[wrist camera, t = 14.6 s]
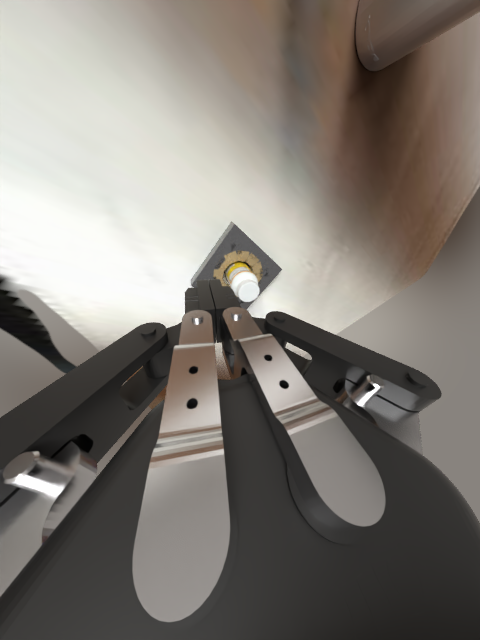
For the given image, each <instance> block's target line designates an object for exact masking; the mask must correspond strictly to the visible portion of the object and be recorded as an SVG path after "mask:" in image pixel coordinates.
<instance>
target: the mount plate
mask: <svg viewBox="0 0 480 640" xmlns="http://www.w3.org/2000/svg"><path fill="white" fill-rule="evenodd" d="M236 261H242V262H247V263H248V264H249V266H250V270H251V271H252V272H253V273H254V275H255V276H256V278H257V280H258V286H259V290H260V291H259V295H260V293H261V292H262V291H263V290H264V289H265V288H266V287H267V286H268V285H269V284H270V282H271V281H272V280H273V279H274V278H275V277H276V276H277V275H278V274H279V272H280V271H281V270H282V269H281V268H280V267H279V266H278V265H277V264H276V263H275V262H274V261H273V260H272V259H271V258H270V257H269V256H268V255H267V254H266V253H264V252H263V251H262V250H261V249H260V248H259V247H258V246H257V245H256V244H255V243H254V242H253V241H252V240H251V239H250V238H249V237H248V236H247V235H246V234H245V233H244V232H242V231H241V230H240V229H239V228H238V227H237V226H236V225H235V224H234V223H233V222H231V223H230V225H229V226H228V227H227V229H226V230H225V232H224V233H223V235H222V236H221V238H220V239H219V240H218V242H217V243H216V245H215V246H214V248H213V249H212V250H211V252H210V253H209V255H208V256H207V258H206V259H205V261H204V262H203V263H202V265H201V266H200V268H199V269H198V271H197V272H196V273H195V275H194V276H193V278H192V279H191V286H193V287H195V288H197V284H196V280H211V279H220V281H221V284H222V286H229V285H228V284H226V283H225V282H224V281H223V274H224V271H225V269H226V268H227V267H228V266H229V264H232V263H234V262H236ZM229 287H230V286H229ZM230 288H231V287H230ZM259 295H258V296H259ZM236 298H237V299H238V302H239V304H240V306H241V308H243V309H245V310H246V309H247V308H248V307H249V306H250V305H251V303H252V302H253V301H254V300H253V301H250V302H244V301H242V300H241V299H240V298H239V297H237V296H236Z"/></svg>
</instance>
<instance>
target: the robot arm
mask: <svg viewBox="0 0 480 640" xmlns="http://www.w3.org/2000/svg"><path fill="white" fill-rule="evenodd" d="M478 12H480V0H360V1H359V6H358V12H357V18H356V47H357V52H358V56H359V58H360V61H361V63H362V64H363V66H364V67H365V68H367V69H368V70H370V71H378V70H382V69H383V68H385V67H387V66H388V65H390V64H392V63H394V62H395V61H397V60H399V59H400V58H402V57H404V56H405V55H407V54H409V53H411V52H413V51H414V50H416V49H418V48H419V47H421V46H423V45H424V44H426V43H428V42H429V41H431V40H433V39H435V38H436V37H438V36H440V35H441V34H443V33H445V32H446V31H448V30H450V29H451V28H453V27H455V26H456V25H458V24H460V23H462V22H463V21H465V20H467V19H468V18H470V17H472V16H473V15H475V14H477V13H478ZM196 284H197V288H188V289H187V290H186V292H185V315H184V316H183V318H182V322H181V323H179V324H178V325H175V326H173V327H170V328H166V327H165V326H164V325H163V324H160V323H154V322H153V323H146V324H143V325H140V326H138V327H137V328H135V329H134V330H132V331H131V332H129V333H128V334H126V335H125V336H123V337H122V338H120V339H119V340H117V341H115V342H114V343H112V344H111V345H109V346H108V347H106V348H105V349H103V350H102V351H100V352H99V353H97V354H96V355H95V356H93V357H91V358H90V359H88V360H87V361H85V362H84V363H82V364H81V365H80V366H78V367H76V368H75V369H73V370H72V371H70V372H69V373H67V374H66V375H64V376H63V377H61V378H60V379H58V380H56V381H55V382H53V383H52V384H50V385H49V386H47V387H46V388H44V389H43V390H41V391H40V392H38V393H37V394H35V395H34V396H32V397H31V398H29V399H28V400H26V401H25V402H23V403H22V404H20V405H19V406H17V407H16V408H14V409H13V410H11V411H10V412H8V413H7V414H5V415H4V416H2V417H1V418H0V640H480V523H479V521H478V519H477V517H476V516H475V514H474V512H473V510H472V509H471V507H470V506H469V504H468V503H467V501H466V500H465V498H464V497H463V496H462V494H461V493H460V492H459V491H458V489H457V488H456V487H455V486H454V484H453V483H452V482H451V481H450V480H449V479H448V478H447V477H446V476H445V475H444V474H443V473H442V472H441V470H439V469H438V468H437V467H436V466H435V465H434V464H433V463H432V462H430V461H429V460H428V459H427V458H425V457H424V456H423V454H422V444H421V434H420V424H419V415H418V414H419V412H420V411H421V410H423V409H424V408H426V407H427V406H429V405H430V404H432V403H433V402H435V401H436V400H437V399H439V398H440V397H441V391H440V389H439V387H438V386H437V384H436V383H435V382H434V381H433V380H432V379H430V378H429V377H428V376H426V375H425V374H423V373H422V372H420V371H418V370H416V369H414V368H411V367H409V366H407V365H404V364H402V363H400V362H397V361H395V360H393V359H390V358H388V357H386V356H383V355H381V354H379V353H376V352H374V351H371V350H369V349H367V348H365V347H362V346H360V345H358V344H355V343H353V342H351V341H348V340H346V339H344V338H341V337H339V336H337V335H334V334H332V333H330V332H327V331H325V330H323V329H321V328H318V327H316V326H314V325H311V324H309V323H307V322H304V321H302V320H300V319H297V318H295V317H293V316H290V315H288V314H286V313H283V312H278V311H274V312H270V313H268V314H267V315H266V318H265V319H262V318H254V317H251V315H250V314H249V312H248V311H247V310H245V309H243V308H241V306H240V304H239V302H238V299H237V298H236V295H235V293H234V291H233V289H231V288H230V287H229V286H222V284H221V281H220V279H211V280H196ZM216 340H217V343H219V342H222V353H223V356H224V359H225V362H226V365H227V368H228V371H229V374H230V377H231V380H220V379H217V368H216V356H215V345H214V343H216ZM287 342H288V343H290V344H292V345H294V346H296V347H298V348H300V349H302V350H304V351H306V352H308V353H309V354H310V355H311V357H312V360H307V359H305V358H303V357H301V356H300V355H298V354H296V353H294V352H292V351H290V350H288V349H286V348H285V346H286V343H287ZM142 366H143V368H142V369H140V370H139V371H138V372H137V373H136V374H135V375H134V376H133V377H131V378H130V379H129V380H128V381H127V382H126V383H125V384H124V385H123V386H122V384H123V383H124V382H125V381H126V380H127V379H128V378H129V377H130V376H132V375H133V374H134V373H135V372H136V371H137V370H138V369H139V368H141V367H142ZM167 384H168V385H167ZM166 385H167V390H166V396H165V400H163V401H162V402H160V403H159V404H158V405H157V406H156V407H154V408H153V409H152V410H151V412H149V414H148V415H147V416H146V417H145V418H144V420H143V421H142V422H141V423H140V424H139V426H138V427H137V428H136V429H135V431H134V432H133V433H132V435H131V436H130V437H129V438H128V439H127V441H126V442H125V443H124V444H123V446H122V447H121V448H120V449H119V451H118V452H117V453H116V454H115V455H114V457H113V458H112V459H111V460H110V462H109V463H108V464H107V465H106V467H105V468H104V469H103V470H102V472H101V473H100V474H99V475H98V476H97V478H96V479H95V477H96V473H97V463H98V462H99V461H100V459H102V457H103V456H104V455H105V454H106V453H107V452H108V451H109V449H110V448H111V447H112V446H113V445H114V444H115V443H116V442H117V440H118V439H119V438H120V437H121V436H122V435H123V434H124V433H125V431H126V430H127V429H128V428H129V427H130V426H131V424H132V423H133V422H134V421H135V420H136V419H137V418H138V417H139V416H140V414H141V413H142V412H143V411H144V410H145V409H146V408H147V406H148V405H149V404H150V403H151V402H152V401H153V400H154V399H155V397H156V396H157V395H158V394H159V393H160V392H161V391H162V390H163V388H164V387H165V386H166Z"/></svg>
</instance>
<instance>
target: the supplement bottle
mask: <svg viewBox="0 0 480 640" xmlns="http://www.w3.org/2000/svg"><path fill="white" fill-rule="evenodd" d="M225 276H226V279H227V281H228V283H229V285H230V287H231V289H233V291H234V293H235V295H236V296H237V297H239V298H240V299H241V300H242V301H244V302H250V301H253V300H255V299H256V298H257V297H258V295H259V291H260V290H259V286H258V280H257V278H256V276H255V275H254V273H253V272H252V271H251V270H250V268H249V267H248V266H247V265H246V264H245V263H244V262H242V261H236V262H234V263H232V264H229V266H228V267H227V268H226V270H225Z"/></svg>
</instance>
